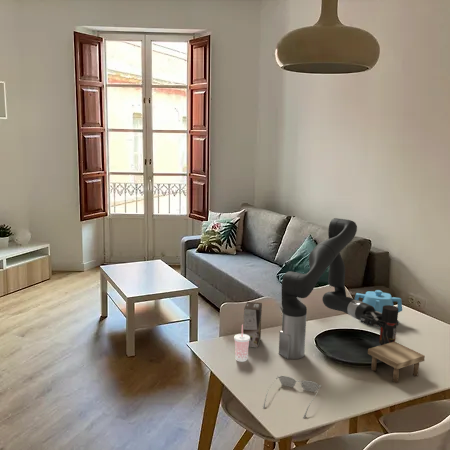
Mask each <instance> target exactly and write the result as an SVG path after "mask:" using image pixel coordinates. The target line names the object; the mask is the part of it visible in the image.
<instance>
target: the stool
mask: <svg viewBox="0 0 450 450" xmlns="http://www.w3.org/2000/svg"><path fill="white" fill-rule="evenodd" d="M367 355H369V356H371V366H370V367H371V369H370V370H371V371H374V372H376V371H377V366H378V365H377V363H378V360H379V361H380V362H383V363H385V364H386V365H388V366H390V367H391V368H393V373H392V383H395V384H397V383H399V375H400V369H402V368H406V367H408V366H411V365H413V370H412V376H414V377H418V376H419V369H420V368H419V367H420V363H421V362H425V355H424V354H423V353H420V352H417V351H416V350H414V349H411V348H409V347H407V346H405V345H403V344H402V343H399V342H397V341H395V342H391V343H388V344H384V345H381V344H379V345H377V346H374V347H369V348H368V349H367Z"/></svg>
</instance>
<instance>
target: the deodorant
mask: <svg viewBox="0 0 450 450" xmlns="http://www.w3.org/2000/svg"><path fill="white" fill-rule="evenodd" d="M397 307H398V306H395V305H394V306H391V305H385V306H383V309H382V319H381V321H383V322H385V323H387V327H386V328H382V327H380V328H379V329H380V330H379V338H378V339H379V340H378V345H384V344H388V343H391V342H396V337H397V336H396V335H397V328H398V327H397V320H398V318H399V317H398V315H399V313H398V308H397Z"/></svg>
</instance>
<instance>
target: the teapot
mask: <svg viewBox="0 0 450 450" xmlns="http://www.w3.org/2000/svg"><path fill="white" fill-rule="evenodd" d="M359 298H361V299H362V301H361V302H364V303H366V304H369V305H371V306H373V307H374V309H375V311H378V312H380V313H382V309H383V306H385V305H391V306H395V305H394V302H397V306H396V307H397V308H398V314H399V313H400V312H403V304H402V303H403V302H402V298H401V297H394V296H393V297H392V295H391V293H389V292H383V291H382V290H380V289H376V290H375V291H372V290H371V291H366V292H365V293H360V292H356V293H355V296H354V299H355V300H358V301H360V300H359ZM369 323H371V322H369Z"/></svg>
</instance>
